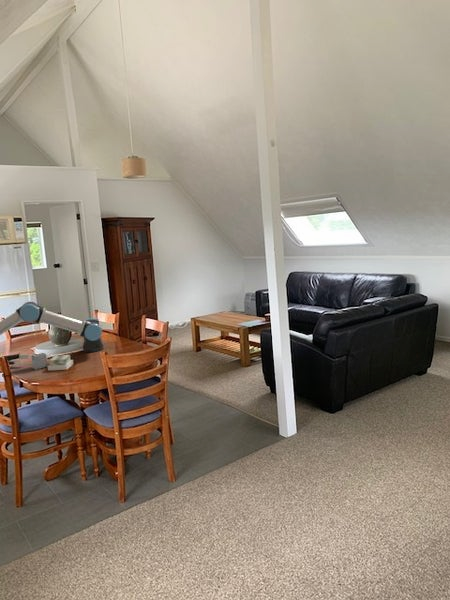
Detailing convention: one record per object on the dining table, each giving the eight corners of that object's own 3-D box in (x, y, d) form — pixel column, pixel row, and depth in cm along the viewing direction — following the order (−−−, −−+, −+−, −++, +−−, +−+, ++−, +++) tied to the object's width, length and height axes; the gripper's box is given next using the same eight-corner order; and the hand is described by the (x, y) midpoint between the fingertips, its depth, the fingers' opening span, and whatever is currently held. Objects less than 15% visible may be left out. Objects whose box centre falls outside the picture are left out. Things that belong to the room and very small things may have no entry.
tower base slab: (73, 364, 297) (73, 359, 296) (67, 370, 285) (66, 365, 284) (55, 365, 297) (54, 360, 296) (48, 371, 285) (47, 366, 285)
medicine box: (44, 365, 297) (42, 352, 295) (47, 366, 294) (46, 353, 293) (32, 368, 291) (31, 355, 289) (36, 369, 288) (34, 356, 287)
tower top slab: (70, 360, 295) (70, 354, 295) (66, 364, 286) (65, 359, 285) (55, 361, 295) (54, 355, 294) (50, 365, 285) (49, 360, 285)
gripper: (2, 360, 305) (33, 359, 305) (-18, 372, 281) (15, 370, 280) (1, 350, 304) (32, 348, 304) (-20, 360, 280) (14, 359, 279)
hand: (24, 359), depth 292 cm, fingers open, 13 cm apart
